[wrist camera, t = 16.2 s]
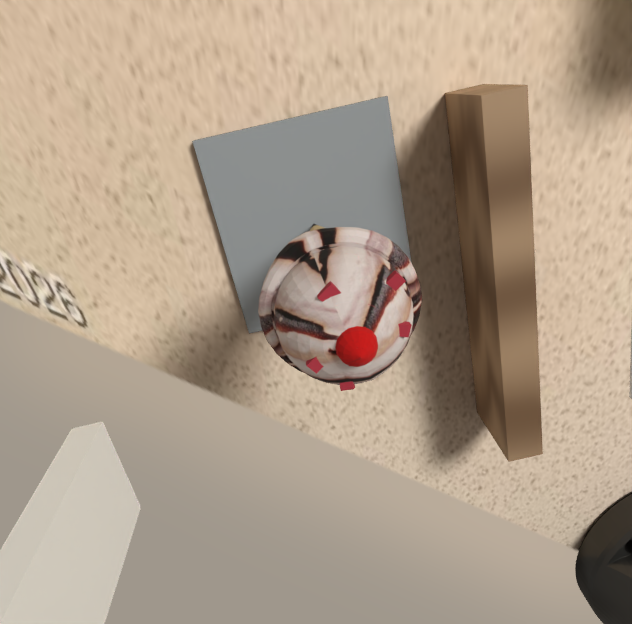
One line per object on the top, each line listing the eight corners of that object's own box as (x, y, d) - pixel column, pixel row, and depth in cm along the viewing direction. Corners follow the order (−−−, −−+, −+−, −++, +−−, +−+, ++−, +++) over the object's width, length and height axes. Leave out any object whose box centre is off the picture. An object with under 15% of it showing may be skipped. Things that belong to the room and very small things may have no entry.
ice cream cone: (314, 293, 30) (357, 470, 17) (237, 228, 28) (214, 368, 15) (386, 221, 29) (496, 348, 15) (310, 147, 27) (358, 217, 13)
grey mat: (414, 292, 31) (416, 295, 31) (249, 330, 31) (249, 333, 31) (385, 96, 27) (387, 96, 26) (193, 140, 27) (192, 141, 26)
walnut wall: (506, 405, 35) (542, 453, 31) (477, 412, 35) (508, 461, 31) (483, 84, 27) (527, 84, 22) (444, 93, 27) (481, 95, 22)
